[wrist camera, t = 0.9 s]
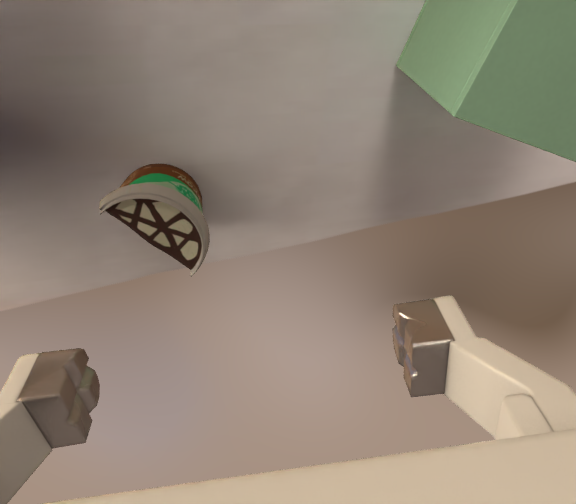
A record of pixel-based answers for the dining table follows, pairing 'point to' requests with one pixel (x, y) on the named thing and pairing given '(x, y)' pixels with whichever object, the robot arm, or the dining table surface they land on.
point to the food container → (163, 211)
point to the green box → (500, 66)
